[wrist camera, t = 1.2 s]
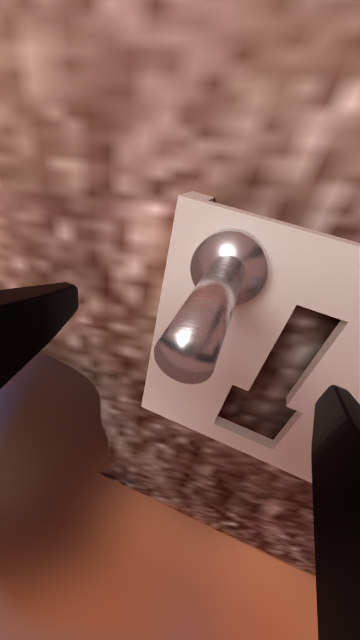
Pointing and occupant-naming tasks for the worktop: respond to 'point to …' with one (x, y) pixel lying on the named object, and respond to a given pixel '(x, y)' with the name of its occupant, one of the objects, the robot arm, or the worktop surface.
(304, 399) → the keyhole board
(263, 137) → the worktop surface
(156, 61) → the worktop surface
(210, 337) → the steel peg
